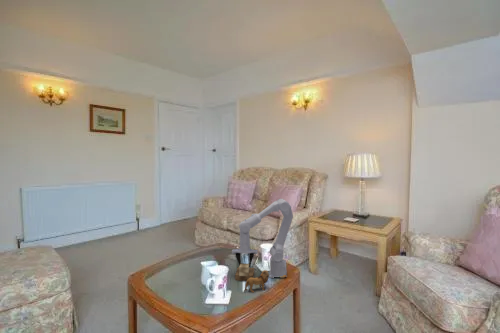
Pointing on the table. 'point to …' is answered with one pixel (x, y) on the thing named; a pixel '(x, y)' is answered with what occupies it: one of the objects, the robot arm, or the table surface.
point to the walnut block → (244, 278)
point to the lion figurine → (257, 281)
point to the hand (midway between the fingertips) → (244, 266)
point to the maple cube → (244, 269)
